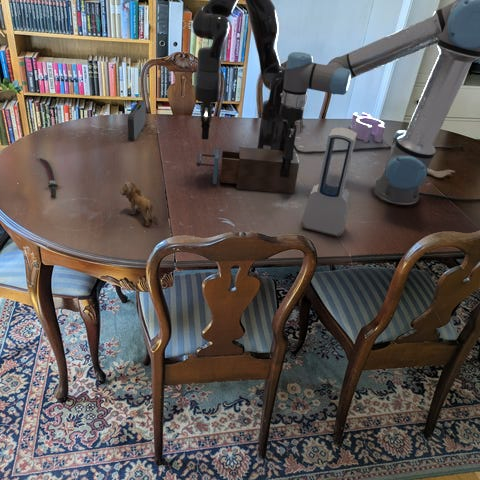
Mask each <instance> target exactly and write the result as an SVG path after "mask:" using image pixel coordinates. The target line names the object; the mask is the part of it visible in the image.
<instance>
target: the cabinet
mask: <svg viewBox="0 0 480 480" xmlns="http://www.w3.org/2000/svg"><path fill="white" fill-rule="evenodd" d="M238 152H239V168H238V177H237V184H235V189H236V190H246V191H258V192H270V193H271V192H272V193H282V194H295V191H296V186H297V185H296V184H297V181H298V180H297V179H298V174H299V169H300V168H299V167H300V161H299V158H298V154H297V152H296V151H294V152H293V160H291V164H290V170H289V177H288V178H286V177H280V173H281V166H282V160H283V159H281V158H282V157H284V151H281V150H269V149H258V147H257V148H256V147H247V146H246V147H245V146H238Z"/></svg>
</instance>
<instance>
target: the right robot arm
mask: <svg viewBox="0 0 480 480" xmlns="http://www.w3.org/2000/svg"><path fill="white" fill-rule="evenodd" d="M435 45H436V46H437V49H438V51H439V55H438V57H437V59H436V61H435V64H434V66H433V68H432V71H431V73H430V75H429V77H428V80H427V82H426V84H425V87H424V89H423V92H422V94H421V95H420V98H419V101H418V103H417V105H416V107H415V110H414V112H413V114H412V117H411V120H410V121H409V124H408V126H407V129H406V130H405V129H403V130H402V129H400V130H397V131H396V132H395V134H394V137H392V143H391V146H392V147H391V148H390V150H389V154H388V158H387V160H386V164H385V168H384V171H383V173H382V175H381V176H380V178H379V179H377V180H376V182H375V185H374V187H373V191H372V193H373V195H374V196H375V197H376V198H377V199H378V200H380V201H382V202H383V203H385V204H388V205H390V206H391V205H392V206H396V207H412V206H415V205H417V203H418V201H419V199H420V196H423V197H432V198H440V199H446V200H450V201H456V202H480V198H461V197H453V196H448V195H443V194H436V193H429V192H420V186H421V185H422V184H423V183H424V182H425V180H426V178H427V175H428V174H427V169H428V168H429V167H430V164H431V163H432V160H433V158H434V156H435V154H436V148H434V146H435V145H434V143H435V142H436V140H437V138H438V136H439V133H440V131H441V129H442V127H443V125H444V122H445V121H446V118H447V117H448V114H449V112H450V110H451V107H452V106H453V104H454V102H455V99H456V97H457V96H458V93H459V91H460V89H461V86H462V84H463V82H464V80H465V78H466V76H467V75H468V72H469V70H470V68H471V66H472V63H474V62H476V61H477V60H479V59H480V0H454V1H453V2H451V3H449V4H447V5H445V6H443V7H442V8H438V9H436V10H435V11H434V12H433V14H432V15H431V16H430V17H428V18H425V19H423V20H421V21H419V22H416V23H414V24H412V25H409V26H407V27H405V28H402V29H400V30H397V31H396V32H394V33H391V34H389V35H386V36H384V37H381V38H380V39H377V40H374V41H373V42H370V43H368V44H366V45H363V46H361V47H359V48H357V49H354V50H351V51H350V52H348V53H346V54H343V55H341V56H336V57H334V58H332V59H330V61H328V63H327V64H322V63H316V62H314V60H313V59H314V58H313V55H312V54H310V53H307V52H302V51H301V52H300V51H293V52H291V53H289V54H288V56H287V60H286V64H285V67H284V68H285V78H284V86H283V93H282V94H280V96H281V97H282V100H281V103H282V104H281V106H280V113H279V116H280V117H281V118H283V125H282V130H281V135H280V139H279V140H280V147H279V150H281V151H284V157H282V158H281V159H283V160H282V166H281V173H280V177H286V178H288V177H289V170H290V164H291V160H293V152H295V149H294V145H295V144H296V143H295V142H296V136H297V135H296V134H297V124H296V123H295V122H297V121H300V120H301V119H302V118H304V112H305V106H306V101H307V95H308V90H313V91H317V92H323V93H328V94H332V95H340V96H344V95H346V94H347V92H348V90H349V86H350V81H351V79H354V78H356V77H357V76H361V75H362V74H365V73H367V72H371V71H373V70H375V69H377V68H381V67H382V66H383V67H384V66H385V65H388V64H390V63H393V62H395V61H398V60H400V59H403V58H405V57H407V56H410V55H412V54H415V53H417V52H420V51H422V50H425V49H427V48H429V47H432V46H435Z"/></svg>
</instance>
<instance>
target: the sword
mask: <svg viewBox="0 0 480 480" xmlns="http://www.w3.org/2000/svg"><path fill="white" fill-rule="evenodd" d="M40 161H41V162H42V163H43V165H44V166H45V169H46V173H47V176H48V185H47V188H50V198H56V197H57V189H56V188H57V187H59V185H58V184H57V183H56V180H55V176H54V172H53V169H52V167H51V164H50V163H49V161H48V160H46V159H43V158H40Z"/></svg>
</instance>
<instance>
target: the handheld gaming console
mask: <svg viewBox="0 0 480 480" xmlns="http://www.w3.org/2000/svg"><path fill="white" fill-rule="evenodd" d="M146 103H147V102H146V100H144V99H143V100H142V99H140V100H138V102H137V103H135V105H134V107H133V108H132V109H131V110H130V112H129V113H128V115H127V138H128V140H130V141H135V140H137V138H138V136H139V134H140V133H141V132H142V130H143V128H144V126H145V125H146V122H147V107H146V106H147V104H146Z"/></svg>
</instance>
